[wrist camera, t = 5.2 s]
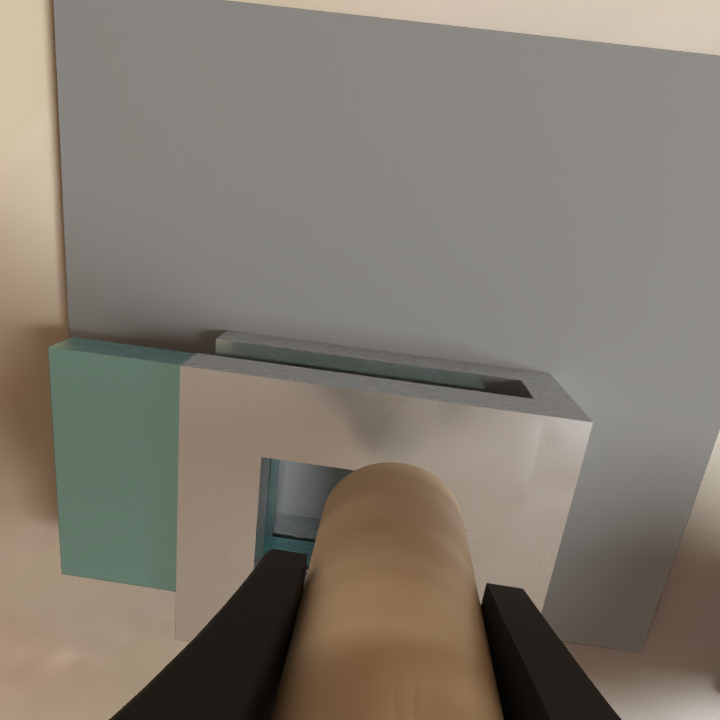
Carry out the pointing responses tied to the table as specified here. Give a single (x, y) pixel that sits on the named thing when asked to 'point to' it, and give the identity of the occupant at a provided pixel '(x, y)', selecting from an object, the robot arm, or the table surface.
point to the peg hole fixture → (293, 456)
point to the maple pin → (389, 609)
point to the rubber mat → (418, 231)
